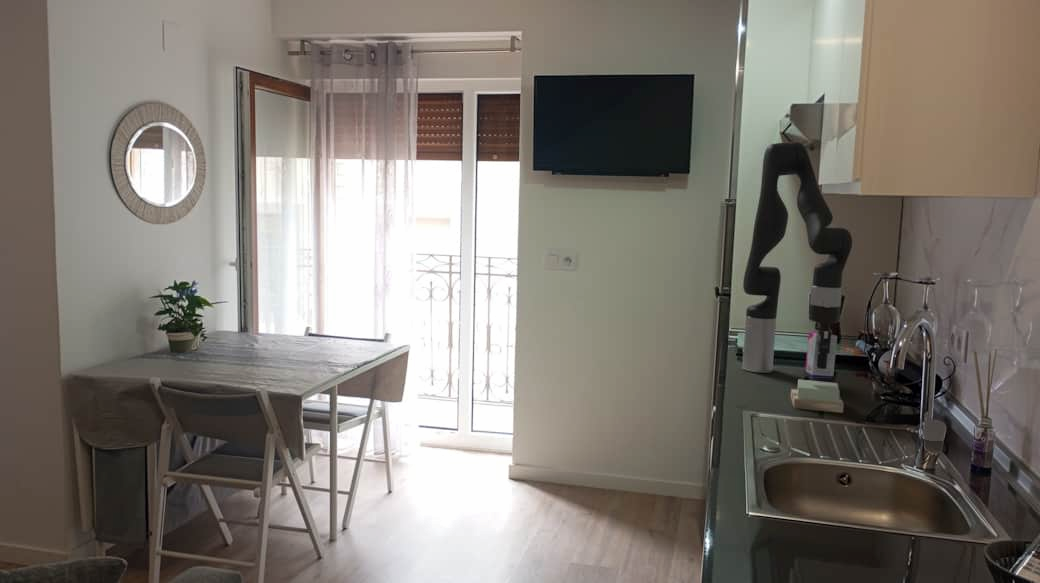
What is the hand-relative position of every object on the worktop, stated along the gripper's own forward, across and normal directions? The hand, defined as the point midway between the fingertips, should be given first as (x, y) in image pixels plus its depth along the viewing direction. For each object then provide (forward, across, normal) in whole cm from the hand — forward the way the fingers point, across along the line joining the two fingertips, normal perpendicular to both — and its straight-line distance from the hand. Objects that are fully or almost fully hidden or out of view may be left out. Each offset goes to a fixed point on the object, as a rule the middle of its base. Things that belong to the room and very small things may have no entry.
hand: (820, 365), depth 207 cm
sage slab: (+8, 0, 0) cm, 8 cm away
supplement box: (+3, 0, 0) cm, 3 cm away
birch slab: (+11, 0, 0) cm, 11 cm away
